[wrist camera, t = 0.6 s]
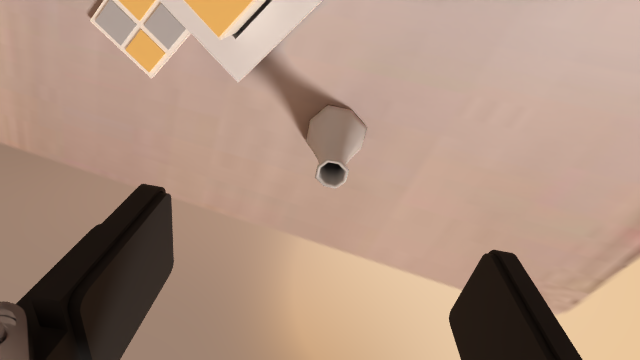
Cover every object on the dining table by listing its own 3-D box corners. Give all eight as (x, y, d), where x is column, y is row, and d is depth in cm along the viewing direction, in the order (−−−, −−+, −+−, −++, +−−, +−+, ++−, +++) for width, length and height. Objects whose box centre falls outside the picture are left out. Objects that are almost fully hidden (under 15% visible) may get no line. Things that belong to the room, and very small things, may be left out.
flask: (296, 142, 43) (282, 184, 34) (325, 93, 39) (317, 126, 31) (345, 169, 44) (344, 215, 36) (377, 124, 41) (384, 164, 32)
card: (132, -38, 34) (127, -38, 33) (195, 28, 37) (192, 29, 36) (93, 19, 37) (88, 20, 37) (153, 76, 40) (150, 78, 39)
